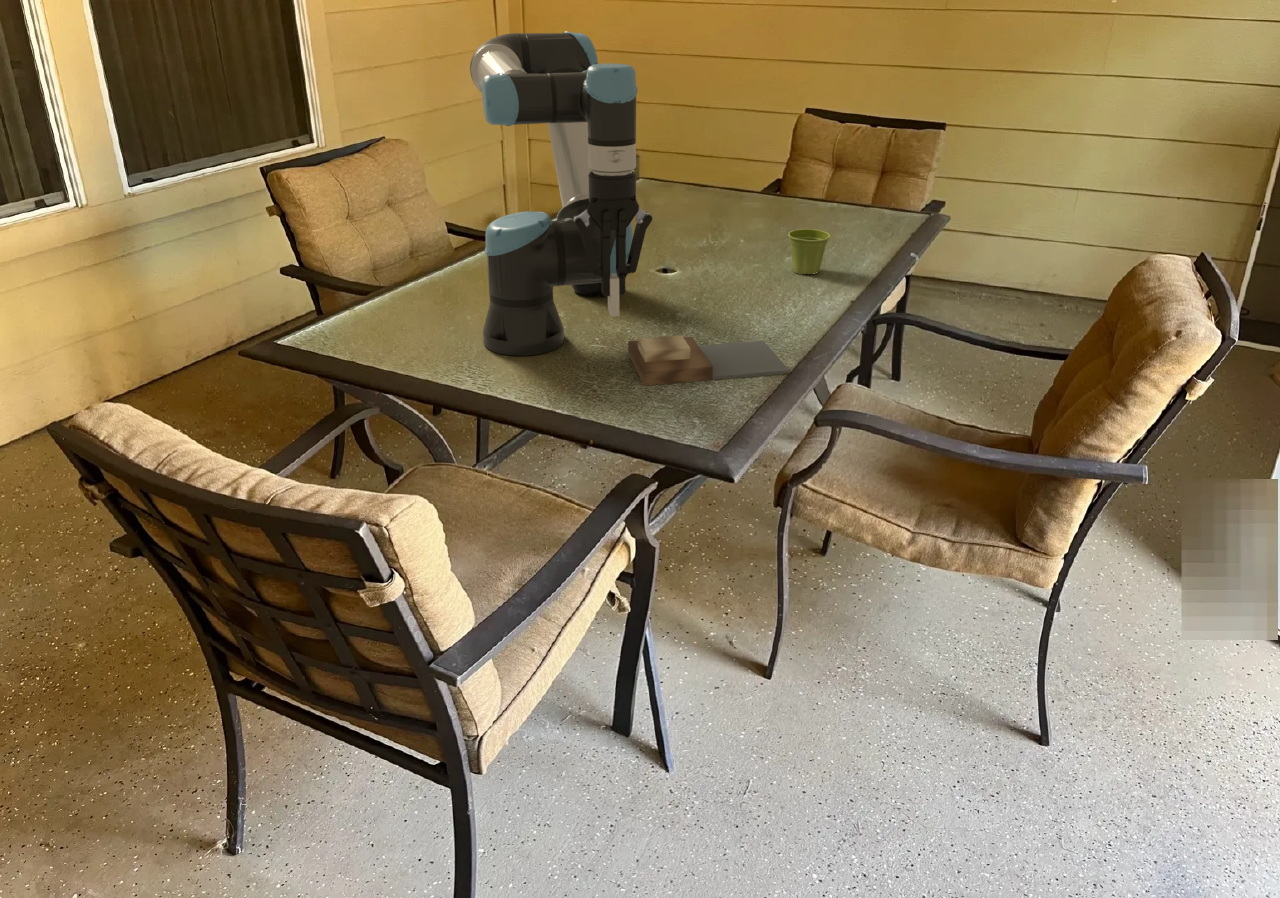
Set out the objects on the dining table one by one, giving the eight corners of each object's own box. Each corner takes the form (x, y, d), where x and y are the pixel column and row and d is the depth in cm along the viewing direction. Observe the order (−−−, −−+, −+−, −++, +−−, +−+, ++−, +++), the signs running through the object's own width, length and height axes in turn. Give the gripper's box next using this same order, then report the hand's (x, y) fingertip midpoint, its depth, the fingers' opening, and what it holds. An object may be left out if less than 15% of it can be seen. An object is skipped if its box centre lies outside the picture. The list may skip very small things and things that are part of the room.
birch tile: (645, 362, 157) (645, 351, 156) (637, 349, 162) (638, 338, 161) (690, 358, 158) (690, 348, 158) (681, 345, 164) (681, 335, 163)
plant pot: (808, 280, 204) (812, 242, 200) (776, 270, 211) (779, 233, 206) (834, 272, 210) (838, 235, 206) (802, 262, 216) (806, 226, 212)
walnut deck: (644, 385, 155) (644, 372, 153) (627, 353, 167) (628, 341, 165) (712, 379, 157) (712, 366, 156) (691, 349, 169) (691, 336, 168)
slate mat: (712, 379, 157) (712, 376, 157) (691, 349, 169) (691, 346, 169) (789, 373, 159) (789, 370, 159) (763, 343, 171) (763, 340, 171)
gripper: (574, 177, 139) (578, 323, 150) (657, 174, 141) (655, 318, 152) (567, 167, 145) (572, 308, 156) (647, 164, 148) (646, 303, 159)
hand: (613, 313), depth 154 cm, fingers closed
